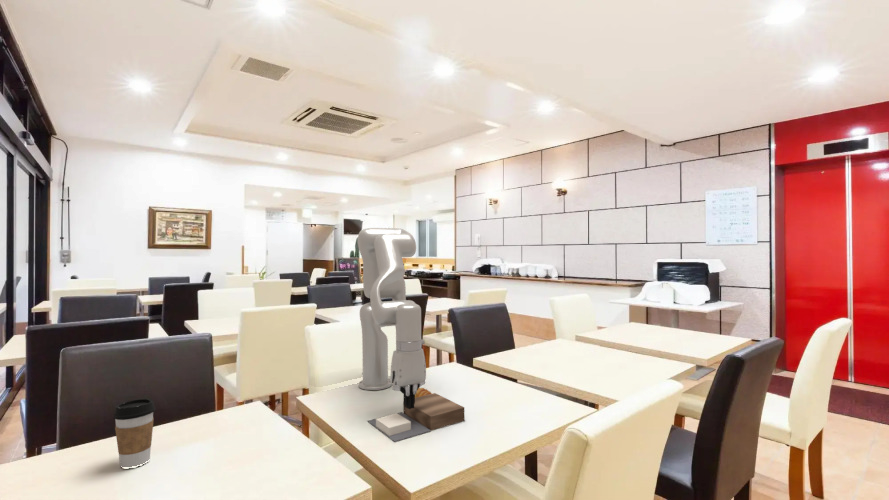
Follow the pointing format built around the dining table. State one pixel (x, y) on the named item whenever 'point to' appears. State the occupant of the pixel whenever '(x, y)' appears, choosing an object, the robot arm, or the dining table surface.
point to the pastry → (422, 392)
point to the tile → (393, 424)
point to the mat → (415, 430)
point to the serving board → (435, 411)
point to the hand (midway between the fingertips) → (409, 407)
